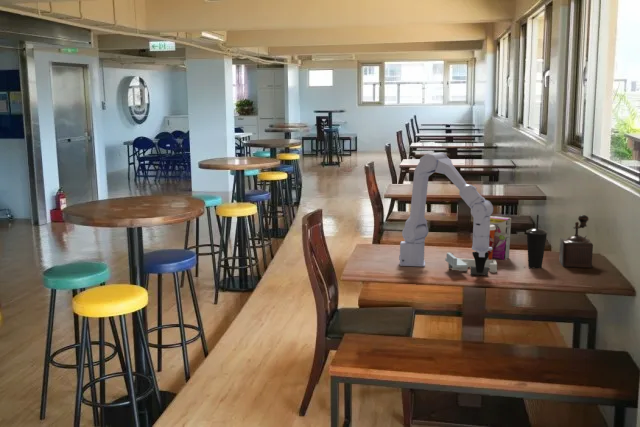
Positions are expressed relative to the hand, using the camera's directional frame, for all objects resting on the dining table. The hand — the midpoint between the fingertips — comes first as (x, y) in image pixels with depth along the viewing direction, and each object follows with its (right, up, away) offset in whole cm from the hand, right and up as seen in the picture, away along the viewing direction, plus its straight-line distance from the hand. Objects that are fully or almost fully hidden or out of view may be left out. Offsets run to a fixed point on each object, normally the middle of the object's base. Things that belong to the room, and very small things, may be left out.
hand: (479, 272), depth 240 cm
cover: (-8, +3, +4) cm, 9 cm away
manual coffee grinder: (+41, +2, +19) cm, 46 cm away
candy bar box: (+12, +3, +28) cm, 31 cm away
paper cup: (+8, +2, +24) cm, 25 cm away
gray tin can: (+1, -1, +3) cm, 4 cm away
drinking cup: (+24, +1, +13) cm, 27 cm away
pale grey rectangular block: (0, 0, +10) cm, 10 cm away
